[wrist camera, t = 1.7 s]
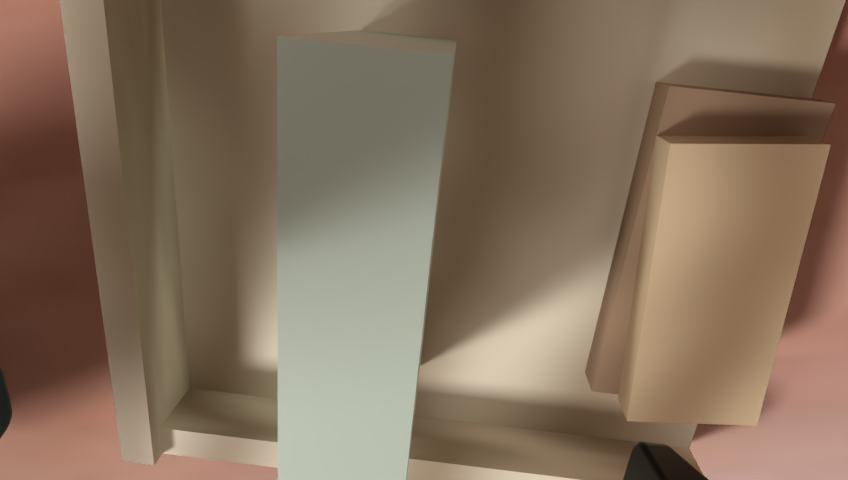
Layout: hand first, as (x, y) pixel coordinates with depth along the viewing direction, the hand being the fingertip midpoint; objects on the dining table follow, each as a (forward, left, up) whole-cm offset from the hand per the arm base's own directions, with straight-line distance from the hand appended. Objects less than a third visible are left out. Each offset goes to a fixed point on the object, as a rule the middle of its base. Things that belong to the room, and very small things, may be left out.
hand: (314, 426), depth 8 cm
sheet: (0, 0, -9) cm, 9 cm away
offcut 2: (+9, 0, -8) cm, 12 cm away
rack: (+2, 0, -10) cm, 10 cm away
